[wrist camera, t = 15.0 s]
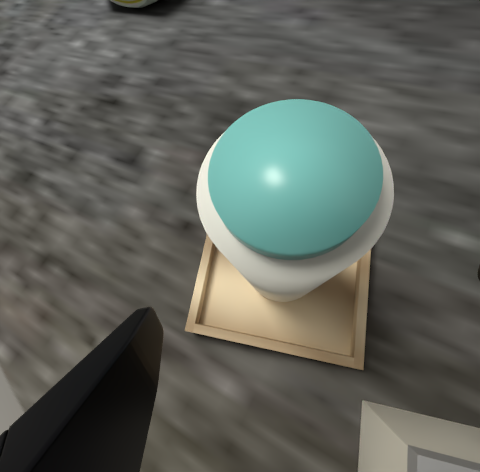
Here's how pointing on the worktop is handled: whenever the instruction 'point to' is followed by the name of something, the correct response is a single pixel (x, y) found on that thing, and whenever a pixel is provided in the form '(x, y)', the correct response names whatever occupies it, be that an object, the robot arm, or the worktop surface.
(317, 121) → the cartridge
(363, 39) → the worktop surface
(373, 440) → the box
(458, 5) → the worktop surface
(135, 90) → the worktop surface
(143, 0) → the air freshener
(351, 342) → the refill tray
